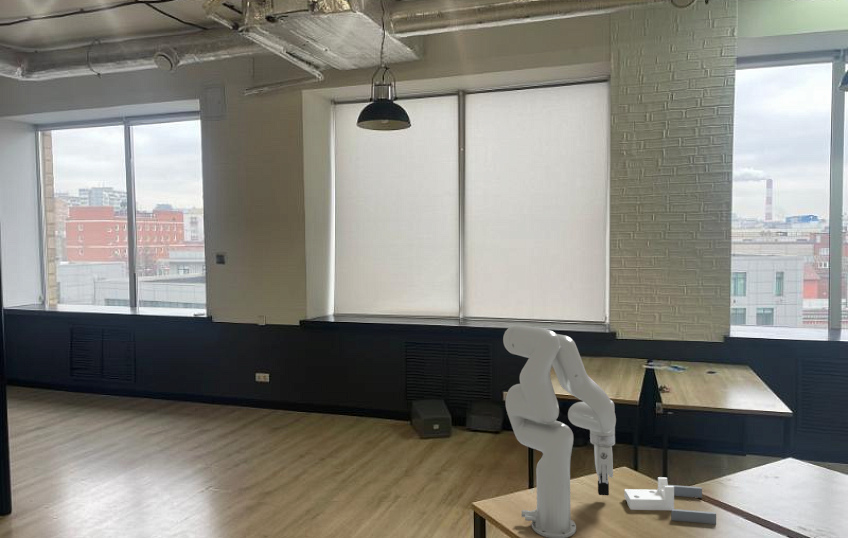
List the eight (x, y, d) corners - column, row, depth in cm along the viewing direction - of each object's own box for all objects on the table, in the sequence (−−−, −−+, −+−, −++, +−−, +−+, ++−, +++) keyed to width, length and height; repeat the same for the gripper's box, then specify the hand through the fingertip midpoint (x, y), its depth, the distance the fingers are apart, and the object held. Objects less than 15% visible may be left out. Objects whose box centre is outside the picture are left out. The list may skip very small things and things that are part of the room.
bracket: (666, 500, 182) (666, 477, 182) (674, 511, 175) (674, 487, 175) (624, 499, 183) (624, 476, 183) (630, 510, 176) (630, 486, 176)
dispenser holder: (671, 520, 169) (671, 510, 169) (661, 493, 187) (661, 484, 186) (716, 524, 166) (716, 514, 166) (701, 496, 184) (701, 487, 184)
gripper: (617, 447, 173) (618, 506, 174) (612, 430, 187) (613, 484, 189) (591, 446, 175) (592, 504, 176) (589, 429, 189) (589, 483, 190)
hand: (603, 493), depth 182 cm, fingers closed
